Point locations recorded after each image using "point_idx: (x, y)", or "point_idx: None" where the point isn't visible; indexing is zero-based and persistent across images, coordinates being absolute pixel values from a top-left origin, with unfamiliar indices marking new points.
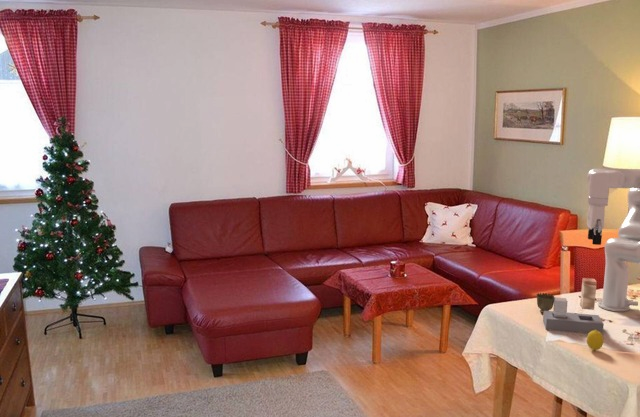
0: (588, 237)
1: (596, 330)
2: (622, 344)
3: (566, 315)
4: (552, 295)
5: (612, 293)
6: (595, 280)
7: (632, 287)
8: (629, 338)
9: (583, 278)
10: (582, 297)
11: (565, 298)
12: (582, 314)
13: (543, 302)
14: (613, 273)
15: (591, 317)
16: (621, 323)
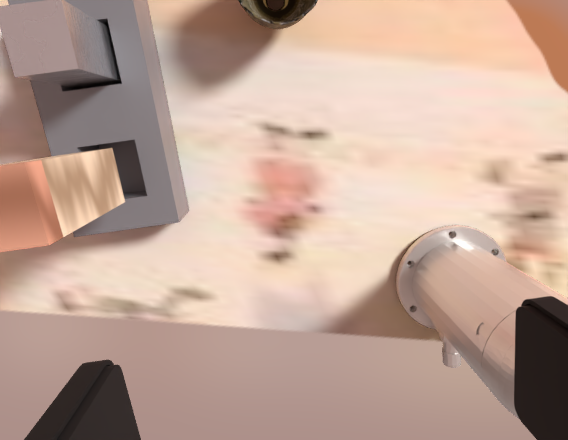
0: (541, 316)
1: None
2: (47, 280)
3: (107, 88)
4: (306, 10)
5: (440, 295)
6: (4, 250)
7: None
8: (119, 304)
9: (11, 169)
10: (40, 158)
11: (70, 66)
12: (156, 158)
13: None
14: (497, 344)
15: (148, 194)
16: (267, 291)
